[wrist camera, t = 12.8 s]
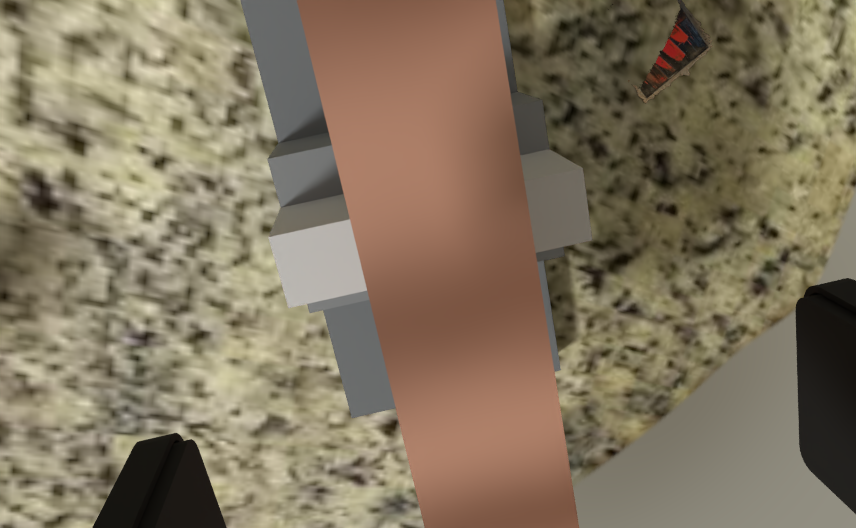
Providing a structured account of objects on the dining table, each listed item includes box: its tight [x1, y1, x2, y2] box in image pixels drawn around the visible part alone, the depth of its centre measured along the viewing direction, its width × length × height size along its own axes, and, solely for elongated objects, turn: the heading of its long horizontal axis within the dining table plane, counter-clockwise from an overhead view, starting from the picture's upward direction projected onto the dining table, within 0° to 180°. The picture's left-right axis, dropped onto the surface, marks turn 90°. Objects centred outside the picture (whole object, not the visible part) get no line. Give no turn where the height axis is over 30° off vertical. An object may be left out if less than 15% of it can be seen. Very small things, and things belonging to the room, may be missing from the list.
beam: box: [297, 0, 579, 528], centre depth 20 cm, size 22×4×6 cm, turn 11°
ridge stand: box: [241, 0, 592, 418], centre depth 27 cm, size 20×10×10 cm, turn 11°
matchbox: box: [608, 0, 712, 103], centre depth 31 cm, size 5×5×1 cm
